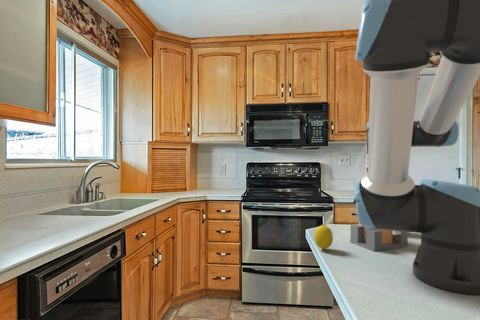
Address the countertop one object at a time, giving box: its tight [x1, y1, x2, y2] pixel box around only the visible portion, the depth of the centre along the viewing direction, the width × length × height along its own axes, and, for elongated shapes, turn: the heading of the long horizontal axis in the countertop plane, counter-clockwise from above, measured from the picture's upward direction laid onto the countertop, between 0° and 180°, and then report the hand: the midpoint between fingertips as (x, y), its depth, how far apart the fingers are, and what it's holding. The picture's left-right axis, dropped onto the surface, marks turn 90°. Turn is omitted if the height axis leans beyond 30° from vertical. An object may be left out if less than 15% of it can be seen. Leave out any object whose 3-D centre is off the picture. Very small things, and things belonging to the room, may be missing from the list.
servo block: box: [360, 224, 393, 244], centre depth 93 cm, size 5×12×10 cm, turn 111°
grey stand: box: [349, 223, 409, 252], centre depth 93 cm, size 10×15×6 cm, turn 112°
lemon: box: [313, 224, 334, 251], centre depth 87 cm, size 6×6×8 cm
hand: (378, 229), depth 93 cm, fingers open, 13 cm apart
